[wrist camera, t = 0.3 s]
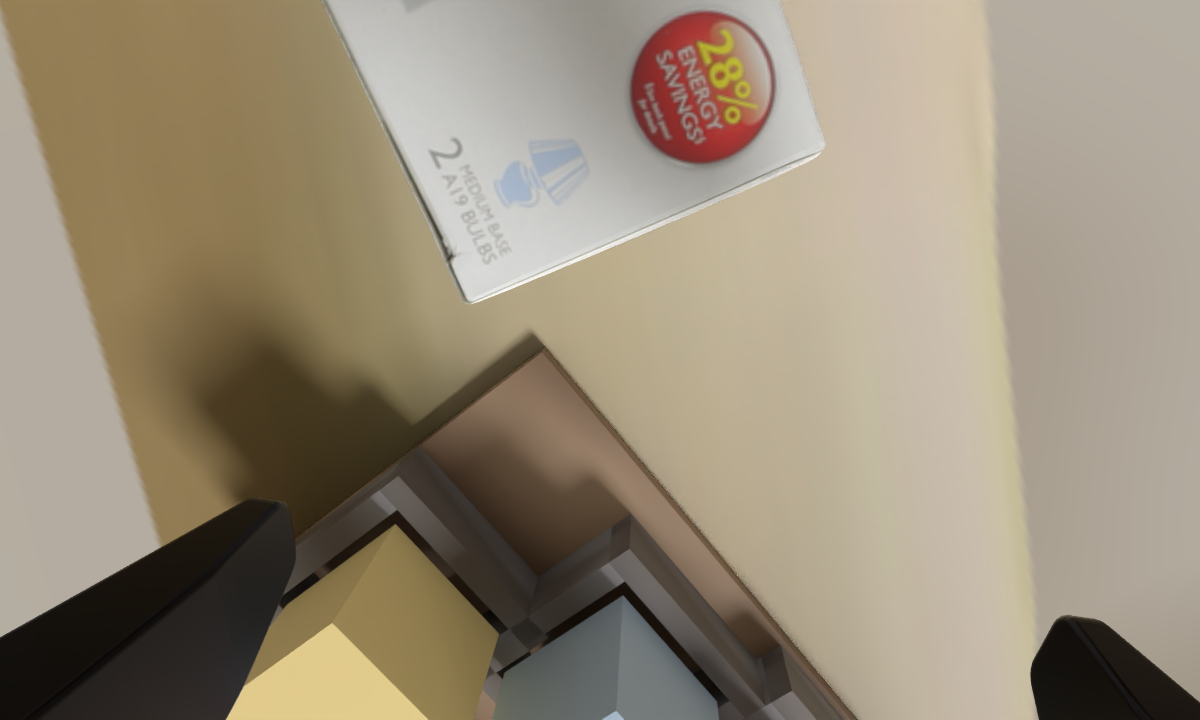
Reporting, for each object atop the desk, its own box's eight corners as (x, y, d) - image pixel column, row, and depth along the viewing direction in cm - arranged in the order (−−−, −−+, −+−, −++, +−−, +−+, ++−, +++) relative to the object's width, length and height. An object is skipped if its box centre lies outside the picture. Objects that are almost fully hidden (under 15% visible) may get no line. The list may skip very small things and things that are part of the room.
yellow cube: (389, 706, 25) (330, 837, 20) (286, 604, 24) (200, 717, 20) (499, 633, 24) (462, 754, 19) (395, 524, 23) (332, 622, 18)
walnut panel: (641, 920, 31) (640, 995, 28) (276, 552, 27) (235, 599, 24) (908, 781, 28) (935, 850, 25) (544, 346, 24) (531, 374, 21)
